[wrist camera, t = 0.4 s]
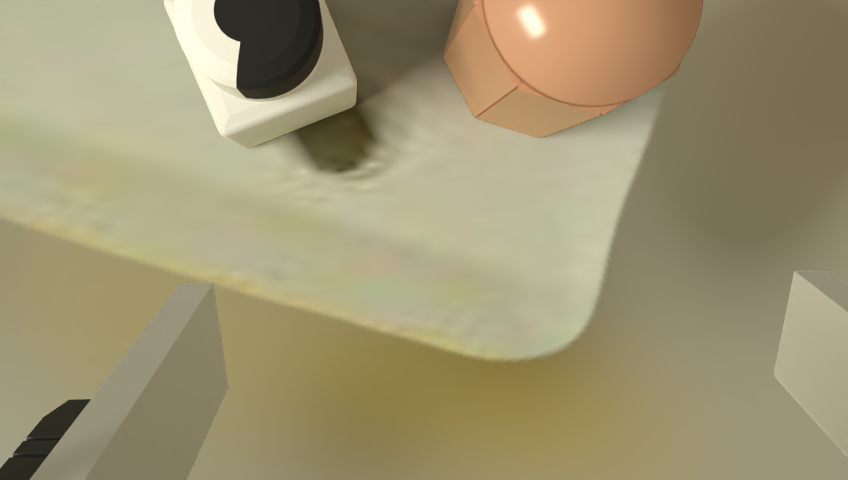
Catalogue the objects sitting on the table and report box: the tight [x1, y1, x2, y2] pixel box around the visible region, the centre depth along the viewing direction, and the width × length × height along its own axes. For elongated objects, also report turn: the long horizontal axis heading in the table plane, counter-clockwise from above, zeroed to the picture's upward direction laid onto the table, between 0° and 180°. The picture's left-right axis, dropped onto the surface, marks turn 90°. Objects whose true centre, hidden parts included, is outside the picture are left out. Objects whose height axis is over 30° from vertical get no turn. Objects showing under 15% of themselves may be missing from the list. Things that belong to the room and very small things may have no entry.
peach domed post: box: [443, 0, 703, 138], centre depth 35 cm, size 10×10×11 cm
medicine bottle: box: [164, 0, 357, 149], centre depth 33 cm, size 7×7×12 cm
